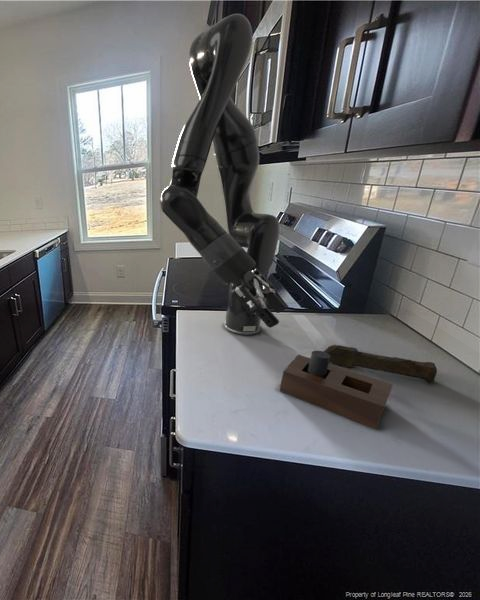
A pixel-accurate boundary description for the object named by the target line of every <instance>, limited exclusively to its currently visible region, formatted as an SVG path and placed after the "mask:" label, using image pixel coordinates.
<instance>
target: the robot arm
mask: <svg viewBox="0 0 480 600" xmlns="http://www.w3.org/2000/svg"><path fill="white" fill-rule="evenodd" d="M252 44H253V29H252V25H251V22H250V21H249V19H248V18H247V16H245V15H244V14H242V13H232V14H230V15H227V16H226V17H223V18H222V19H220V20H219V21H217V22H215V23H214V24H212V25H211V26H210V27H208V28H206V29H205V30H203V31H202V32H200V33H199V34H198V35H196V36H195V38H194V39H193V40H192V42H191V44H190V47H189V57H188V59H189V67H190V68H189V69H190V71H191V75H192V78H193V81H194V82H193V83H194V84H195V87H196V90H197V93H198V96H199V100H198V102H197V104H196V105H195V108H194V109H193V110H192V112H191V114H190V115H189V117H188V119H187V120H186V122H185V123H184V126H183V127H182V130H181V132H180V135H179V137H178V141H177V144H176V148H175V151H174V155H173V158H172V162H171V163H172V164H171V178H170V182H169V186H167V187H166V188H164V190H163V191H162V193H161V194H160V197H159V207H160V209H161V211H162V213H163V214H164V215H165V216H166V217H167V218H168V219H169V220H170V221H171V222H172V224H173V225H175V226H176V227H177V228H178V229H179V230H180V231H181V232H182V234H183V235H184V237H185V238H186V239H187V241H188V243H189V244H190V245H191V246H192V247H193V248H194V249H195V250H196V252H197V253H198V254H199V255H200V257H201V258H202V260H203V262H204V263H205V264H206V265H207V266H208V267H209V269H210V270H211V271H212V272H213V273H214V274H215V275H216V277H217V278H218V279H219V280H220V282H222V284H223V285H225V286H228V295H227V303H226V311H225V319H224V326H223V327H224V328H225V329H226V330H227V331H229V332H230V333H233V334H237V335H241V336H242V335H243V336H253V335H256V334H259V332H260V330H261V322H263V323H264V324H265V325H266V326H267V328H271V329H272V328H274V327H275V326H277V325H279V323H280V320H279V318H277V317H276V315H275V314H274V313H273V312H272V311H271V310H270V309H269V307H268V306H267V305H266V303H267V304H268V305H269V306H270V307H271V309H272V310H273V311H274V312H275V313H277V314H279V313H281V312H283V311H285V310H286V309H287V306H286V304H285V303H284V302H283V301H282V300H281V299H280V298H279V296H278V295H277V294H276V291H275V289H276V287H275V285H273V283H271V281H270V280H269V272H270V269H271V267H272V265H273V263H274V260H275V256H276V251H277V247H278V243H279V239H280V231H281V227H280V226H281V225H280V221H279V219H278V218H277V216H275V215H273V214H268V213H260V212H259V213H258V212H254V209H253V206H252V202H251V188H252V186H253V185H252V184H253V182H254V180H255V178H256V174H257V172H258V168H259V165H260V161H261V160H260V156H261V155H260V149H259V144H258V138H257V133H256V129H255V127H254V126H253V124H252V122H251V121H250V120H249V118H247V116H246V115H245V113H243V112H242V111H241V109H240V108H239V107H238V106H237V104H236V103H235V101H234V100H233V98H232V94H233V92H234V89H235V87H236V85H237V82H238V81H239V78H240V76H241V74H242V72H243V70H244V67H245V65H246V63H247V60H248V58H249V55H250V52H251V49H252ZM211 147H212V150H213V155H214V159H215V165H216V169H217V171H218V175H219V180H220V183H221V184H220V185H221V189H222V194H223V199H224V205H225V214H226V215H225V216H226V223H227V224H226V225H227V231H226V229H224V227H223V226H222V225H221V224H220V223H219V222H218V221H217V220H216V219H215V218H214V217H213V216H212V215H211V214H210V213H209V212H208V211H207V210H206V208H205V207H204V205H203V204H202V203H201V201H200V200H199V199H198V194H199V189H200V184H201V179H202V175H203V172H204V170H205V167H206V164H207V160H208V158H209V154H210V150H211ZM245 249H246V250H245ZM265 302H266V303H265Z"/></svg>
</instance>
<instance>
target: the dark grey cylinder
mask: <svg viewBox="0 0 480 600" xmlns="http://www.w3.org/2000/svg"><path fill="white" fill-rule="evenodd" d="M323 351H324V350H313V351H311V354H310V358H311V359H310V363H309V367H308V371H307V373H309V374H312V375H315V376H318V377H321V378H324V379H325V376H326V372H327V368H328V364H330V362H329V361H330V355H329V354H328V353H326V352H323Z"/></svg>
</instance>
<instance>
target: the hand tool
mask: <svg viewBox="0 0 480 600" xmlns="http://www.w3.org/2000/svg"><path fill="white" fill-rule="evenodd" d="M322 351H323V352H326V353H328V354H329V355H330V361H329V363H330V364H332V365H337V366H342V367H345V368H348V369H349V368H350V369H351V368H354V367H358V368H365V369H370V370H375V371H381V372H385V373H386V372H387V373H391V374H397V375H401V376H406V377H411V378H417V379H418V378H419V379H423V380H426V382H428V384H431V383H433V382H434V381H435V378H436V377H437V373H438V368H437V366H436V363H434V362H432V361H418V360H412V359H407V358H406V359H405V358H401V357H397V356H394V357H393V356H386V355H379V354H375V353H369V352H365V351H364V352H363V351H359V350H358V349H357V347H351V346H345V345H342V344H341V345H340V344H332V345H329V346H328V347H326V349H324V350H322Z"/></svg>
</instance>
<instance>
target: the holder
mask: <svg viewBox="0 0 480 600" xmlns="http://www.w3.org/2000/svg"><path fill="white" fill-rule="evenodd" d="M310 359H311V357H308V356H305V355H302V354H297V355H296V357H295V358H293V360H292V361H291V362H290V363H289V364H288V365H287V367H285V368H284V369H283V372H282V377H281V382H280V387H279V391H280V392H281V393H284V394H286V395H289V396H291V397H294V398H297V399H298V400H301V401H303V402H305V403H309V404H311V405H314V406H317V407H319V408H321V409H323V410H327V411H328V412H331V413H334V414H337V415H339V416H342V417H344V418H346V419H349V420H350V421H351V420H352V421H354V422H356V423H359V424H361V425H363V426H367V427H369V428H371V429H374V430H378V427H379V424H380V421H381V419H382V416H383V413H384V411H385V408H386V406H387V402H388V400H389V397H390V394H391V391H392V389H393V384H394V383H391V382H388V381H386V380H383V379H379V378H375V377H372V376H368V375H366V374H362V373H359V372H356V371H353V370H350V369H347V368H343V367H340V366H338V365H335V364H332V363H329V364H328V368H327V372H326V376H325V379H324V378H321V377H318V376H315V375H312V374H309V373H307V371H308V367H309V363H310Z"/></svg>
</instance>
